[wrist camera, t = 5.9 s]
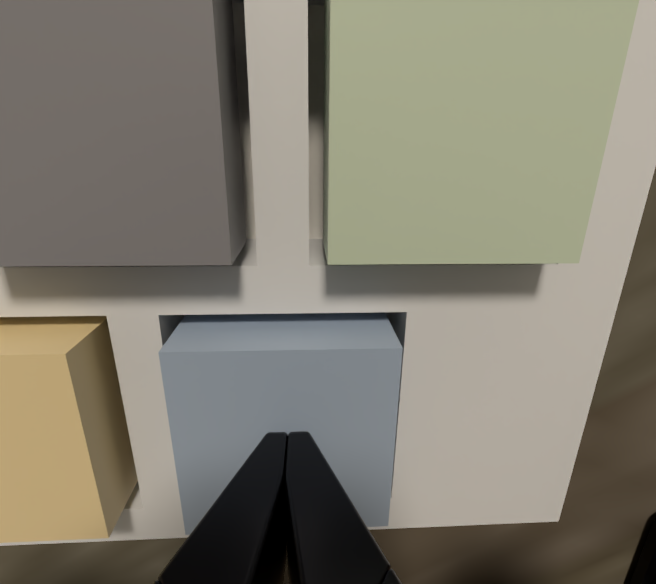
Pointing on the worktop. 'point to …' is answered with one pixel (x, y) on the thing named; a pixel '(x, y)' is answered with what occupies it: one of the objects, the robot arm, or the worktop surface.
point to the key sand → (61, 430)
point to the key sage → (466, 127)
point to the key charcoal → (119, 133)
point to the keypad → (381, 303)
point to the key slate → (283, 399)
